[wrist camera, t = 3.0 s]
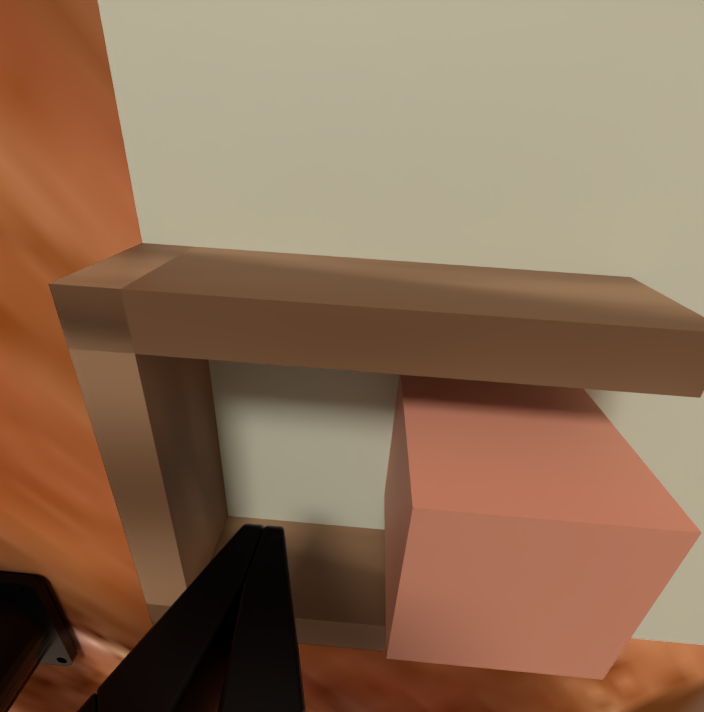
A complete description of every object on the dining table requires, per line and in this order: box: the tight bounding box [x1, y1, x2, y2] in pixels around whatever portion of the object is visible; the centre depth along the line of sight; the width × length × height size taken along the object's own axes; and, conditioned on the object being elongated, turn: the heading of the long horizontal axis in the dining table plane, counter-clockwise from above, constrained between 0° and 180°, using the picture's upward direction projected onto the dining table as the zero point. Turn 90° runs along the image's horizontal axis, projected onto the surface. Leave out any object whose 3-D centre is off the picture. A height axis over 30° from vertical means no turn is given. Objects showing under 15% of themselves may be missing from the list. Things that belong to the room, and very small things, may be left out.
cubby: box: [49, 243, 704, 652], centre depth 10 cm, size 10×11×3 cm
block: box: [384, 374, 702, 680], centre depth 9 cm, size 4×4×4 cm
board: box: [98, 0, 704, 645], centre depth 11 cm, size 19×26×1 cm
